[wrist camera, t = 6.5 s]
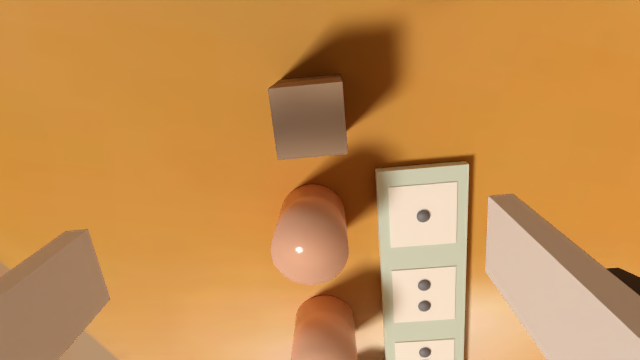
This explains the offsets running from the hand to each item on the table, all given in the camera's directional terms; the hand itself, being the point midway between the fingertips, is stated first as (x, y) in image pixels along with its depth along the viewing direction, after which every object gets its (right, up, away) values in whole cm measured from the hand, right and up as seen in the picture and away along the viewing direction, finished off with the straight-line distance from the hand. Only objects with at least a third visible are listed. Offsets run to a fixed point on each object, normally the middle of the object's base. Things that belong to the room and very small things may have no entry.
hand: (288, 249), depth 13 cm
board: (+11, -9, +26) cm, 30 cm away
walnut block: (0, +9, +21) cm, 22 cm away
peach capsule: (0, -1, +24) cm, 24 cm away
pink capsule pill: (+2, -12, +28) cm, 30 cm away
